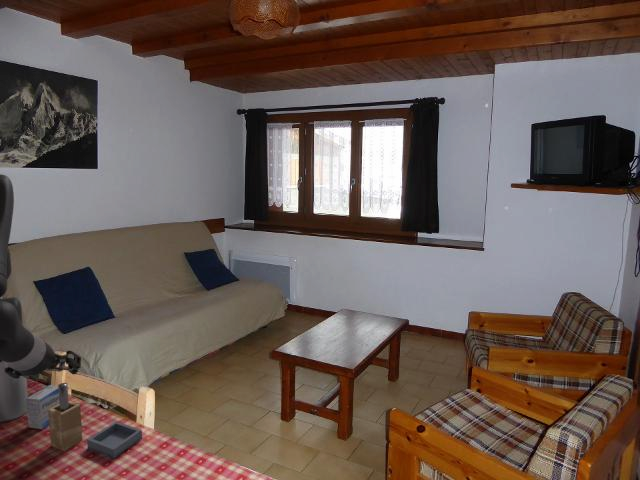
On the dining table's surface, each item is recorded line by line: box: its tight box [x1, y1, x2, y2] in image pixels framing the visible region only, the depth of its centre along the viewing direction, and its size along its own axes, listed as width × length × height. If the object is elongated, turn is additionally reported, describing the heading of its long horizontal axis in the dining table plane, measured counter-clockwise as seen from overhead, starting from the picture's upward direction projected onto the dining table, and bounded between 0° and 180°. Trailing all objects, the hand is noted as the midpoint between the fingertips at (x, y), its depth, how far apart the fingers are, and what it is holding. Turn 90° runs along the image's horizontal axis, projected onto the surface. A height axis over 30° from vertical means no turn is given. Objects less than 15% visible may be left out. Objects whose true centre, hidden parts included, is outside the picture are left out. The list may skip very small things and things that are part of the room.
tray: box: [86, 421, 143, 460], centre depth 115 cm, size 9×9×2 cm
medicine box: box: [26, 384, 59, 430], centre depth 123 cm, size 8×4×9 cm, turn 168°
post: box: [57, 382, 70, 412], centre depth 114 cm, size 2×2×16 cm
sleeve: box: [48, 400, 83, 452], centre depth 114 cm, size 5×5×10 cm
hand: (56, 373), depth 109 cm, fingers open, 8 cm apart
